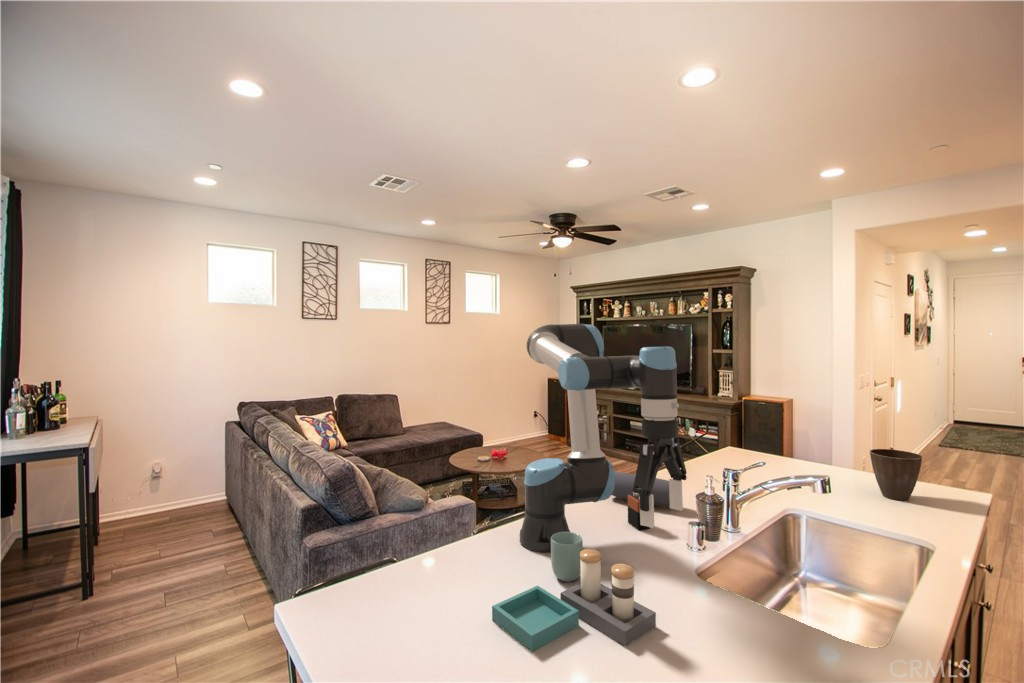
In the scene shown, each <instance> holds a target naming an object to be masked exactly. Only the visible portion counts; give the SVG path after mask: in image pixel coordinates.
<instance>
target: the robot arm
mask: <svg viewBox="0 0 1024 683" xmlns="http://www.w3.org/2000/svg"><path fill="white" fill-rule="evenodd" d="M602 336H603V335H602V333H601V332H600V330H599V328H597V326H595V325H593V324H585V323H569V324H568V323H567V324H563V323H562V324H552V323H551V324H545V325H542V326H540V327H538V328H536V329H534V330H533V332H531V333H530V334H529V336H528V338H527V341H526V351H527V352H526V353H527V354H528V356H529V357H530V358H531V359H532V360H533V361H535V363H536V362H537V364H541V365H546V366H548V367H549V368H550V369H552V370H553V371H554V372H556V373H557V374H558V375H557V376H558V382H559V383H560V386H561V387H562V389H564V390H566V391H567V402H568V404H567V405H568V407H567V408H568V418H569V429H570V430H569V432H570V445H571V451H570V453H569V454H568V455H567V456H566V457H567V463H565V462H564V460H562V459H561V458H556V457H553V458H550V457H548V458H542V459H541V458H540V459H537V460H535V461H532V462H530V463H529V464H528V465H527V466H526V467H525V471H524V480H523V482H524V512H525V513H524V517H523V520H522V521H523V522H522V526H521V529H520V530H519V543H520V545H521V544H522V545H523V546H522V547H524V548H525V547H526V549H527V548H528V549H527V550H530V549H531V550H530V551H533V550H535V552H539V551H540V553H551V536H552V535H554V534H556V533H559V532H571V530H570V528H569V524H568V522H567V517H566V511H565V509H566V508H565V506H566V505H575V504H582V503H592V502H593V503H597V502H601V501H606V500H608V499H610V498H611V496H612V493H613V490H614V486H615V472H616V471H615V469H614V465H613V463H612V462H611V461H610V460H608V459H607V456H606V454H605V453H604V452H603V451H602V450H601V446H600V445H601V444H600V434H599V433H600V432H599V422H598V409H597V397H596V390H607V389H608V390H609V389H632V388H633V389H640V412H641V413H640V416H642V420H641V434H642V436H643V437H646V438H647V444H643V443H640V444H639V456H638V460H637V466H636V471H635V474H636V476H635V481H634V486H633V492H635V493H638V494H639V495H640V525H643V526H647V527H650V529H653V528H655V506H654V499H653V495H652V494H651V491H652V488H653V485H654V482H655V479H656V478H657V475H658V472H659V468H660V467H662V466H663V464H664V466H665V467H666V470H667V472H668V474H669V476H670V478H669V479H668V481H669V498H670V506H669V509H671V510H676V511H681V512H682V511H683V510H684V504H683V481H686V480H687V479H688V478H687V468H686V464H685V461H684V457H683V453H682V449H681V444H680V436H679V420H678V419H676V418H677V416H678V408H679V407H680V405H679V403H678V380H677V379H678V378H677V375H678V373H677V367H678V364H677V360H676V350H675V348H673V347H672V346H646V347H645V346H643V347H642V348H640V350H639V355H635V354H634V355H621V356H620V355H618V356H617V355H616V356H613V355H612V356H604V352H605V346H604V340H603V337H602Z"/></svg>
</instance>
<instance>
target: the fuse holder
mask: <svg viewBox="0 0 1024 683" xmlns="http://www.w3.org/2000/svg"><path fill="white" fill-rule="evenodd" d="M560 600H562V601H564V602H565V603H567V604H569V605H570V606H572V607H573V608H575V609H577V610H578V611H579V620H580V619H581V620H582V621H584V622H585V623H587V624H588V625H590V626H591V627H593V628H594V629H596V630H598V632H599V631H600V632H601V633H603V634H604V635H606V636H607V637H609V638H611V640H614V641H616V643H619V645H622V646H623V647H625V648H626V647H627V646H629V645H631V644H632V643H633V642H635V641H636V640H638V639H639V638H641V637H642V636H644V635H646V633H648V632H650V631H651V630H653V629H655V628H656V627H657V613H656V611H654V610H652V609H650V608H649V607H646V606H645V605H643V604H641V603H639V602H637V601H635V600H634V619H632V620H630V621H629V622H627V623H626V624H625V623H624V622H622V621H620V620H618V619H617V618H615V617H613V616H612V588H611V587H609V586H607V585H605V584H603V583H601V599H600V600H598V601H596V602H594V603H592V604H591V603H589V602H588V601H586V600H584V599H582V598H581V582H580V583H578V584H576V585H573V586H572V587H569V588H568V589H566V590H563V591H562V592H560Z"/></svg>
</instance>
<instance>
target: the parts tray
mask: <svg viewBox="0 0 1024 683" xmlns="http://www.w3.org/2000/svg"><path fill="white" fill-rule="evenodd" d="M491 615H492V617H491V619H492V622H494V623H495V624H496V625H497V626H499V627H500V628H501V629H503V630H504V631H505V632H506V633H508V634H509V635H510V636H511V637H512V638H514V639H515V640H517V641H518V642H519V643H520V644H522V645H523V646H524V647H526V648H527V649H528V650H529V651H531V652H534V651H536V650H537V649H540V648H541V647H544V646H545V645H547V644H548V643H550V642H552V641H554V640H556V639H557V638H559V637H561V636H562V635H565V634H566V633H568V632H570V631H571V630H573V629H575V628H577V627H579V626H580V618H579V611H578V610H577V609H575V608H573V607H572V606H570V605H569V604H567V603H565V602H564V601H562V600H561V598H559V597H557V596H555V595H554V594H552V593H551V592H549V591H547V590H546V589H544V588H542V587H541V586H540V585H535V586H533V587H531V588H529V589H527V590H524V591H523V592H520V593H518V594H515V595H514V596H511V597H509V598H507V599H505V600H502V601H500V602H498V603H496V604H493V605H492V606H491Z"/></svg>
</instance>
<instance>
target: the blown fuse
mask: <svg viewBox="0 0 1024 683" xmlns="http://www.w3.org/2000/svg"><path fill="white" fill-rule="evenodd" d="M610 571H611V572H610V573H611V589H612V616H613V617H615V618H617V619H618V620H620V621H622V622H624V623H625V624H626V623H627V622H629V621H630V620H632V619H634V601H635V583H634V576H635V568H634V567H632V565H629V564H626V563H616V564H612V566H611V570H610Z"/></svg>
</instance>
